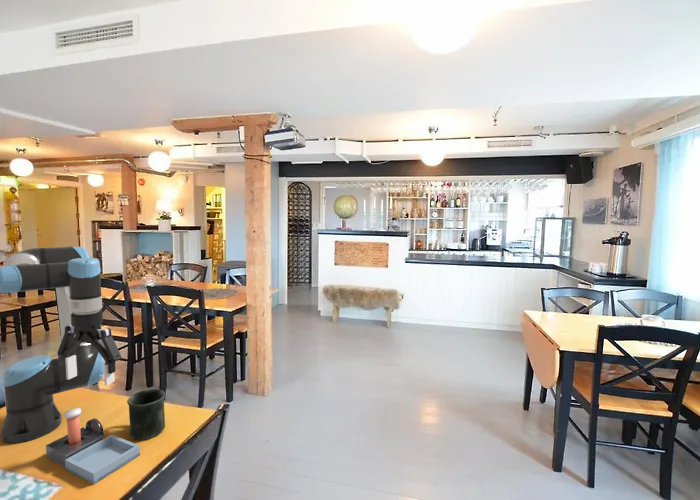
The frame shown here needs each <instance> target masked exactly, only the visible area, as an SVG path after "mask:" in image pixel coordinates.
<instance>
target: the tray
mask: <svg viewBox="0 0 700 500" xmlns="http://www.w3.org/2000/svg"><path fill="white" fill-rule="evenodd" d="M140 456H141V446H140V445H139V444H136V443H134V442H131V441H129V440H126V439H125V438H122V437H119V436H117V435H114V434H110V435H109V436H106V437H105V438H103V440H101V441H99V442H97V443H95V444H93V445H92V446H90V447H88V448H86V449H84V450H82V451H80V452H79V453H77V454H75V455H73V456H71V457H69V458H67V459H66V460H65V467H64V469H65V471H67V472H69V473H71V474H73V475H75V476H77V477H79V478H81V479H82V480H84V481H87V482H88V483H90V484H92V485H95V484H97V483H99V482H100V481H102V480H104V479H105V478H106V477H109V475H111V474H113V473H114V472H116V471H117V470H120V468H122V467H124V466H125V465H127V464H129V463H130V462H132V461H134V460H135V459H137V458H138V457H140Z"/></svg>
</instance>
